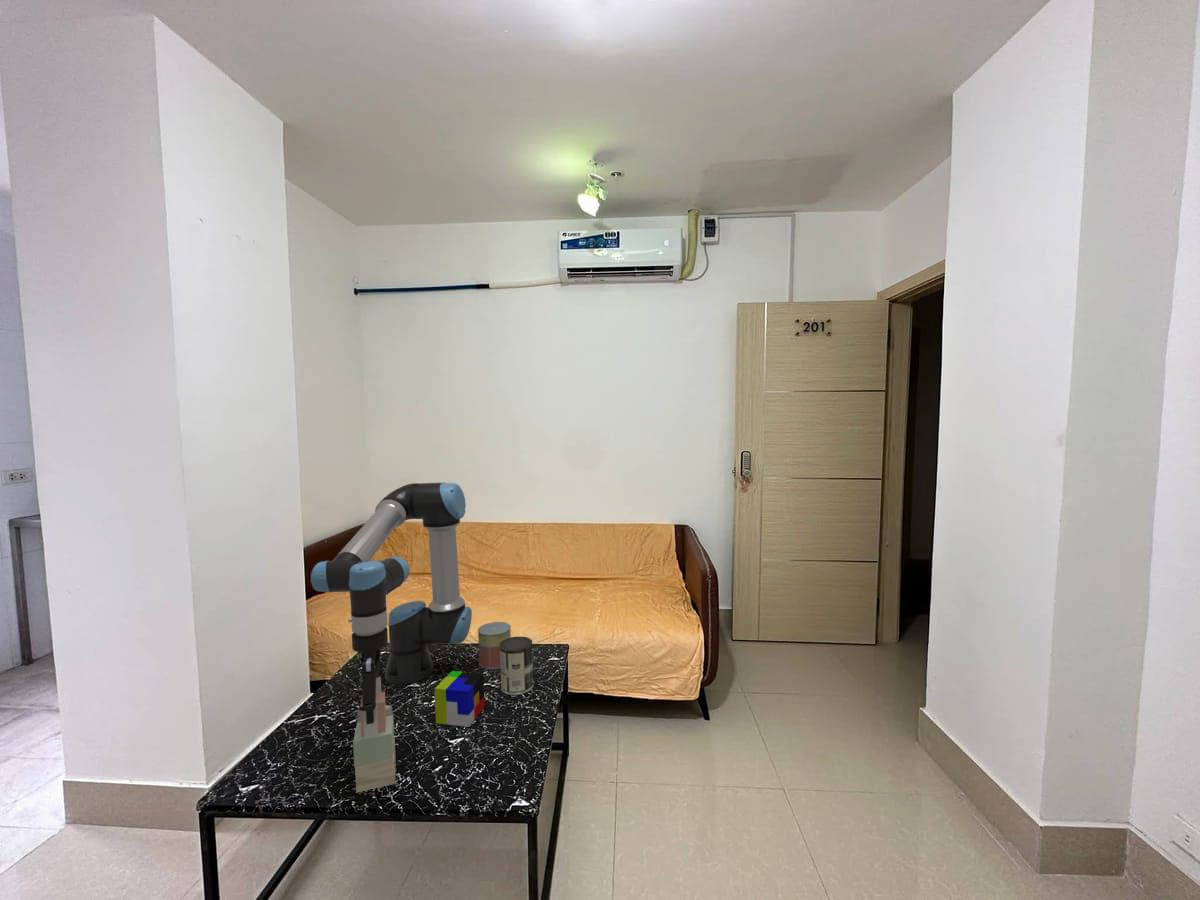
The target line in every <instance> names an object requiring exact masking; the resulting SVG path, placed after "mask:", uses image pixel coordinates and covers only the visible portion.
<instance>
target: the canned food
mask: <svg viewBox="0 0 1200 900" xmlns="http://www.w3.org/2000/svg"><path fill="white" fill-rule="evenodd" d="M511 628H512V627H511V624H509V622H505V621H492V622H488V623H485V624H482V625H480V626H479V627H478V628H477V633H478V635H477V636H478V638H477V639H478V664H479V667H480V666H481V667H480V668H482V669H484V668H486V670H498V668H499V669H501V665H500V648H499V644H500V643H501V642H502V641H503V640H505V639H507V638H511V637H512V636H511Z"/></svg>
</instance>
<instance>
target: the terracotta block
mask: <svg viewBox="0 0 1200 900" xmlns="http://www.w3.org/2000/svg"><path fill="white" fill-rule="evenodd" d="M360 701H361V702H360V707H362V699H361V700H360ZM376 705H377V722H378V733H381V732H385V730H386V705H387V704H386V691H381V692H380V693H376ZM361 736H362V737H363V736H364V719H363V711H362V710H361Z"/></svg>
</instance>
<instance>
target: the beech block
mask: <svg viewBox="0 0 1200 900" xmlns="http://www.w3.org/2000/svg"><path fill="white" fill-rule="evenodd" d="M396 761H397V760H396V739H395V738H394V749H393V759H390V760H386V761H381V762H377V763H373V764H369V765H364V766H360V767H356V768H354V769H355V770H354V771H355V772H354V773H355V774H354V775H355V794H356V793H358V792H361V793H364V792H363V791H365V792H368V791H367V790H369V791H371V790H370V789H373V790H377V789H381V788H384V786H385V787H387V786H391V785H395V784H396V782H395V781H396ZM376 788H377V789H376ZM358 794H359V793H358Z"/></svg>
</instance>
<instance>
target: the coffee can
mask: <svg viewBox="0 0 1200 900" xmlns="http://www.w3.org/2000/svg"><path fill="white" fill-rule="evenodd" d="M499 648H500V665H501V668H500V682H501V683H500V684H501V685H500V690H501V692H502V693H504V694H506V695H509V696H510V695H511V696H517V695H523V694H526V693H528V692H530V691H531V690H532V689H533V688H534V685H535V684H534V669H533V666H534V664H533V640H532V639H531V638H529V637H527V636H511V638H507V639H505V640H503V641H502V642H501V643H500V644H499Z"/></svg>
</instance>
